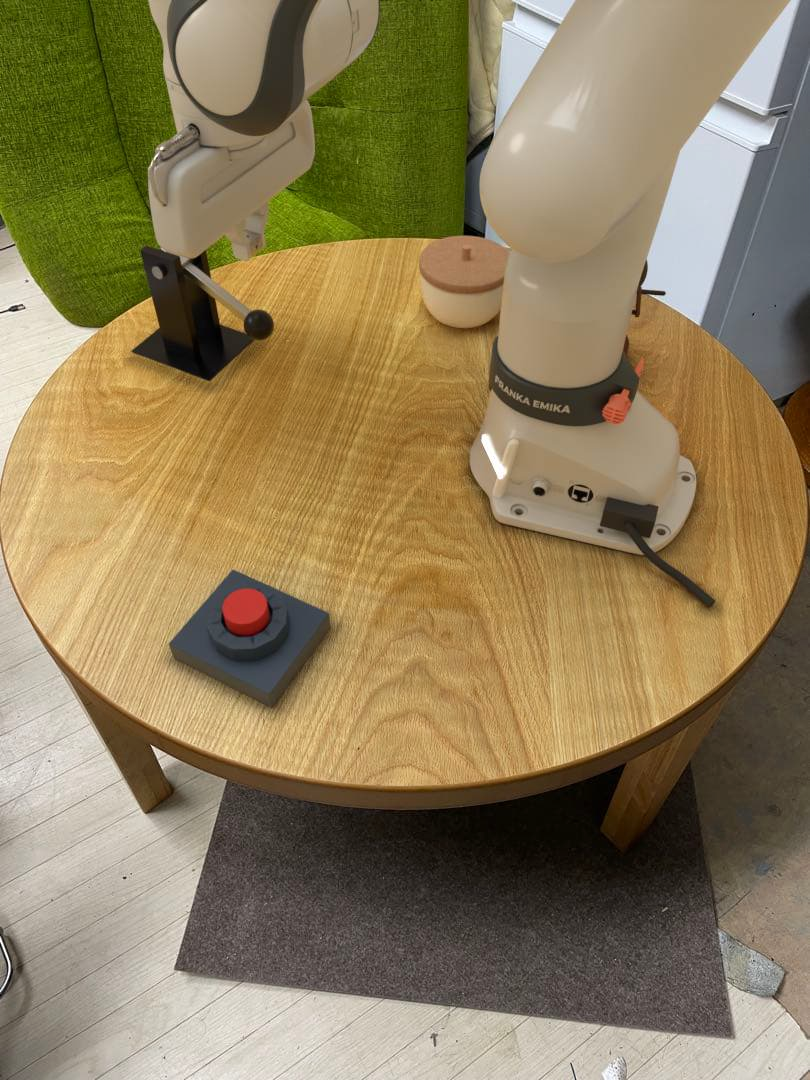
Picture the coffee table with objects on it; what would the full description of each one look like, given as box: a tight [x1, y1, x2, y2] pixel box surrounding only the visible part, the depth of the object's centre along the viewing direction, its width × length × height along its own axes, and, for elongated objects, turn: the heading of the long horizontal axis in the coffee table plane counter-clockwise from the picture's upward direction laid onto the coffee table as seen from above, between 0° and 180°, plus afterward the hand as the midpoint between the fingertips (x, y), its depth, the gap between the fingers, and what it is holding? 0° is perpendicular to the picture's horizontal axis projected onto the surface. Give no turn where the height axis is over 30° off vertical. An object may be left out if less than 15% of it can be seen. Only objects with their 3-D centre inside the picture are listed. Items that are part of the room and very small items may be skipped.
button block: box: [168, 569, 331, 709], centre depth 72 cm, size 10×9×4 cm
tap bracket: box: [130, 245, 255, 382], centre depth 95 cm, size 11×9×14 cm
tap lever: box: [159, 247, 275, 342], centre depth 91 cm, size 14×3×3 cm, turn 62°
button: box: [222, 589, 270, 636], centre depth 71 cm, size 4×4×2 cm
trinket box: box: [418, 235, 510, 329], centre depth 101 cm, size 11×11×9 cm
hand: (250, 253), depth 84 cm, fingers closed
